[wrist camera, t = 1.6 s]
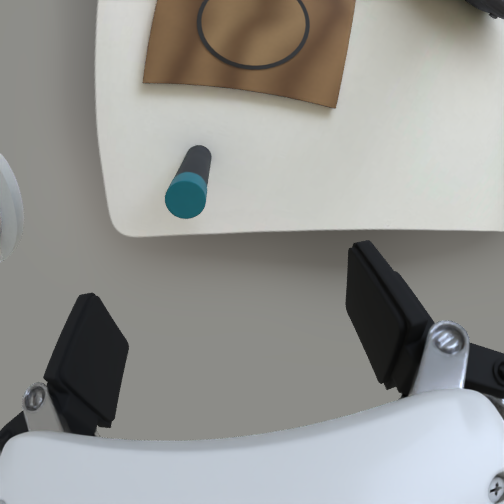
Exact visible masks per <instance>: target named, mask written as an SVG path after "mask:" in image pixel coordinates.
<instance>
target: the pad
mask: <svg viewBox="0 0 504 504" xmlns="http://www.w3.org/2000/svg"><path fill="white" fill-rule="evenodd" d="M355 2H356V0H157V4H156V8H155V13H154V17H153V22H152V27H151V32H150V38H149V43H148V49H147V55H146V62H145V69H144V76H143V83H166V84H189V85H203V86H214V87H224V88H232V89H240V90H247V91H254V92H260V93H266V94H272V95H278V96H283V97H288V98H293V99H297V100H302V101H306V102H311V103H315V104H319V105H323V106H327V107H331V108H336V104H337V100H338V95H339V90H340V85H341V80H342V75H343V70H344V65H345V60H346V55H347V49H348V44H349V38H350V32H351V27H352V21H353V14H354V8H355Z"/></svg>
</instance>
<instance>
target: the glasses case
mask: <svg viewBox="0 0 504 504" xmlns="http://www.w3.org/2000/svg"><path fill="white" fill-rule="evenodd" d="M465 1H467V2H468V3H470V4H471V5H473V6H474V7H476V8H478V9H479V10H482V11H484V12H487V13H490V14H489V16H491V17H492V18H494V19H496V18H497V17H499V18H502V19H504V0H465Z"/></svg>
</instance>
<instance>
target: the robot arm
mask: <svg viewBox="0 0 504 504" xmlns="http://www.w3.org/2000/svg"><path fill="white" fill-rule="evenodd" d="M1 231H2V215H1V209H0V235H1ZM346 310H347V313H348V315H349V317H350V319H351V321H352V323H353V326H354V328H355V330H356V332H357V334H358V336H359V339H360V341H361V343H362V345H363V347H364V350H365V352H366V354H367V356H368V359H369V361H370V363H371V365H372V368H373V370H374V372H375V375H376V377H377V380H378V381H379V383H381V384H382V383H384V385H385V387H386V389H387V390H388V389H391V388H394V387H397V389H398V391H399V393H401V394H400V397H399V400H396V401H393V402H390V403H387V404H383V405H380V406H377V407H374V408H371V409H368V410H365V411H361V412H358V413H354V414H351V415H347V416H344V417H340V418H336V419H332V420H328V421H324V422H320V423H316V424H311V425H307V426H302V427H298V428H293V429H287V430H281V431H276V432H270V433H263V434H256V435H248V436H240V437H232V438H220V439H206V440H189V441H188V440H184V441H150V440H127V439H114V438H103V437H100V435H99V433H98V432H97V430H96V427H97V425H98V426H99V427H105V428H111V423H112V421H113V420H114V419H115V414H116V408H117V403H118V397H119V392H120V387H121V382H122V377H123V372H124V368H125V363H126V359H127V354H128V350H129V345H128V342H127V340H126V339H125V337H124V336H123V334H122V333H121V331H120V330H119V328H118V327H117V325H116V324H115V322H114V320H113V319H112V317H111V316H110V314H109V312H108V311H107V309H106V308H105V306H104V304H103V303H102V301H101V299H100V298H99V297H98V296H96V295H95V294H94V293H87V294H82V295H79V297H78V298H77V300H76V303H75V304H74V306H73V309H72V311H71V313H70V315H69V317H68V319H67V321H66V324H65V326H64V328H63V330H62V332H61V334H60V337H59V339H58V342H57V344H56V346H55V349H54V351H53V353H52V356H51V359H50V361H49V363H48V366H47V369H46V371H45V374H44V377H43V378H44V379H45V380H46V381H47V382H48V383H47V386H46V385H45V384H44V383H41V382H37V383H34V384H32V385H31V386H30V387H28V388H27V390H26V391H25V393H24V396H23V399H22V407H23V411H22V412H21V413H19V415H17V416H16V417H15V418H14V419H12V420H11V421H10V422H9V423H8V424H6V425H5V426H4V427H3V428H2V430H1V431H0V504H504V354H503V353H501V352H497V351H494V350H491V349H488V348H485V347H482V346H478V345H475V344H472V343H469V336H468V334H467V332H466V331H465V329H464V328H463V327H462V326H461V325H459V324H458V323H455V322H453V321H447V320H444V321H439V322H437V323H434V321H433V320H432V318H431V317H430V316H429V314H428V313H427V311H426V310H425V308H424V307H423V306H422V304H421V303H420V301H419V300H418V298H417V297H416V296H415V294H414V293H413V292H412V290H411V289H410V287H409V286H408V285H407V283H406V282H405V281H404V279H403V278H402V277H401V275H400V274H399V273H398V272H395V271H393V269H392V268H391V267H390V265H389V264H388V263H387V262H386V260H385V259H384V258H383V256H382V255H381V254H380V253H379V251H378V250H377V249H376V248H375V246H374V245H373V244H372V243H371V242H370V241H369V240H366V241H361V242H357V243H354V244H353V247H352V248H349V250H348V273H347V290H346Z"/></svg>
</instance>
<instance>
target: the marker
mask: <svg viewBox="0 0 504 504" xmlns="http://www.w3.org/2000/svg"><path fill="white" fill-rule="evenodd" d="M210 163H211V153H210V151H209V150H208V149H207V148H206V147H204V146H201V145H197V146H194V147H192V148H190V149H189V151H188V152H187V154H186V156H185V158H184V160H183V162H182V164H181V166H180V168H179V169H178V171H177V173H176V175H175V177H174V179H173V180H172V182H171V184H170V186H169V188H168V190H167V192H166V195H165V203H166V206H167V208H168V210H169V211H170V212H171V213H172V214H173V215H174V216H176V217H179V218H183V219H189V218H193V217H195V216H197V215H199V214H200V213H201V212H202V210H203V209H204V207H205V204H206V197H207V184H208V177H209V170H210Z"/></svg>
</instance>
